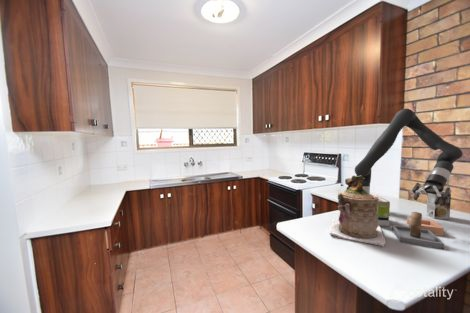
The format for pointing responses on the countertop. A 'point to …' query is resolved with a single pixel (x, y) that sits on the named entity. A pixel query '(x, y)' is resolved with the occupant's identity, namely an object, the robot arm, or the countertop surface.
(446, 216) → the coffee box
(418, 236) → the walnut dowel
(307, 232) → the countertop surface
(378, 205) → the tea box
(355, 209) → the cookie jar
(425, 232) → the gray tray
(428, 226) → the salmon square ring
